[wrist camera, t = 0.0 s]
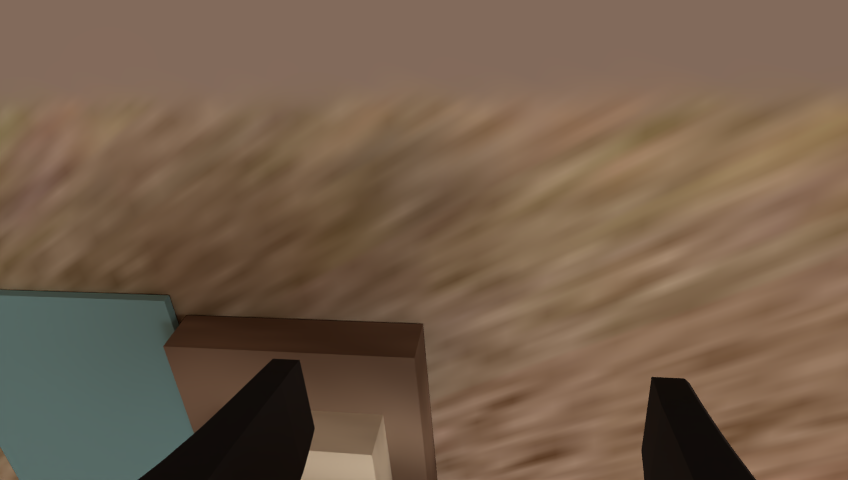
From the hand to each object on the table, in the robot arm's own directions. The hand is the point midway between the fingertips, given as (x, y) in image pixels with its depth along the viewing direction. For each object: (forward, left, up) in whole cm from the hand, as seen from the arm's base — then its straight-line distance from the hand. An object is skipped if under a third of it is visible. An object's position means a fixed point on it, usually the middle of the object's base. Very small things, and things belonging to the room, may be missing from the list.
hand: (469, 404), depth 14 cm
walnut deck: (-13, +8, -10) cm, 18 cm away
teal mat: (-13, +20, -10) cm, 26 cm away
